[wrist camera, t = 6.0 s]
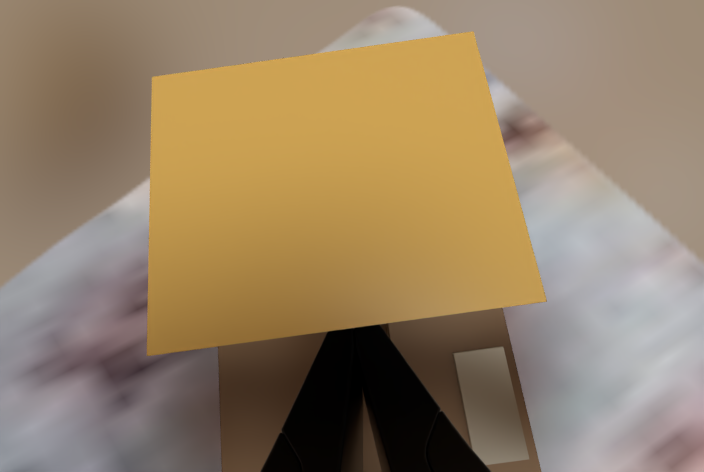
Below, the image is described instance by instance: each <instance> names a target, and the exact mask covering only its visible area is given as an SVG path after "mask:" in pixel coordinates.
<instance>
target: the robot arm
mask: <svg viewBox="0 0 704 472" xmlns="http://www.w3.org/2000/svg"><path fill="white" fill-rule="evenodd" d="M362 388H363V389H362ZM363 394H364V399H365V404H366V408H367V412H368V416H369V421H370V425H371V429H372V433H373V437H374V441H375V446H376V450H377V454H378V458H379V462H380V467H381V471H382V472H491V471H490V469H489V468H488V467H487V466H486V465H485V464H484V462H483V461H482V460H481V459H480V458H479V457H478V455H477V454H476V453H475V452H474V451H473V450H472V448H471V447H470V446H469V445H468V443H467V442H466V441H465V439H464V438H463V437H462V436H461V434H460V433H459V432H458V430H457V429H456V428H455V427H454V425H453V424H452V422H451V421H450V420H449V418H448V417H447V416H446V414H445V413H444V412H443V411H441V408H440V406H439V405H438V404H437V402H436V401H435V399H434V398H433V397H432V395H431V394H430V393H429V391H428V390H427V388H426V387H425V386H424V384H423V383H422V382H421V380H420V379H419V378H418V376H417V375H416V373H415V372H414V371H413V369H412V368H411V367H410V365H409V364H408V362H407V361H406V360H405V358H404V357H403V356H402V354H401V353H400V351H399V350H398V349H397V347H396V346H395V345H394V343H393V342H392V340H391V339H390V338H389V336H388V335H387V334H386V332H385V331H384V330H383V328H382V327H381V325H380V324H378V325H371V326H364V327H356V328H349V329H342V330H334V331H328V332H327V334H326V336H325V338H324V340H323V342H322V344H321V346H320V349H319V351H318V353H317V355H316V357H315V359H314V361H313V363H312V365H311V367H310V370H309V372H308V374H307V376H306V378H305V380H304V382H303V384H302V386H301V389H300V391H299V393H298V395H297V397H296V399H295V401H294V403H293V405H292V407H291V410H290V412H289V414H288V416H287V418H286V420H285V422H284V424H283V426H282V429H281V432H282V433H279V435H278V437H277V439H276V441H275V443H274V445H273V447H272V449H271V451H270V453H269V455H268V457H267V459H266V461H265V463H264V465H263V467H262V469H261V471H260V472H363Z"/></svg>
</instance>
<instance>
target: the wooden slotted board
mask: <svg viewBox="0 0 704 472" xmlns="http://www.w3.org/2000/svg"><path fill="white" fill-rule="evenodd" d="M380 325H381V327H382V328H383V330H384V331H385V332H386V334H387V335H388V336H389V338H390V339H391V340H392V342H393V343H394V345H395V346H396V347H397V349H398V350H399V351H400V353H401V354H402V356H403V357H404V358H405V360H406V361H407V362H408V364H409V365H410V367H411V368H412V369H413V371H414V372H415V373H416V375H417V376H418V378H419V379H420V380H421V382H422V383H423V384H424V386H425V387H426V388H427V390H428V391H429V393H430V394H431V395H432V397H433V398H434V399H435V401H436V402H437V404H438V405H439V406H440V408H441V411H443V412H444V413H445V414H446V416H447V417H448V418H449V420H450V421H451V422H452V424H453V425H454V427H455V428H456V429H457V430H458V432H459V433H460V434H461V436H462V437H463V438H464V439H465V441H466V442H467V443H468V445H469V446H470V447H471V448H472V450H473V451H474V452H475V453H476V454H477V455H478V457H479V458H480V459H481V460H482V461H483V462H484V464H485V465H486V466H487V467H488V468H489V469H490V471H491V472H541V468H540V464H539V460H538V456H537V451H536V447H535V443H534V439H533V435H532V431H531V426H530V422H529V418H528V414H527V410H526V405H525V401H524V397H523V393H522V389H521V384H520V380H519V376H518V372H517V368H516V363H515V359H514V355H513V351H512V347H511V343H510V338H509V334H508V330H507V326H506V322H505V317H504V313H503V309H502V308H495V309H488V310H481V311H473V312H466V313H459V314H451V315H444V316H437V317H429V318H422V319H415V320H407V321H400V322H393V323H386V324H380ZM327 332H328V331H327ZM327 332H320V333H312V334H305V335H298V336H290V337H283V338H276V339H268V340H261V341H254V342H246V343H239V344H232V345H224V346H218V362H219V394H220V426H221V458H222V472H260V471H261V469H262V467H263V465H264V463H265V461H266V459H267V457H268V455H269V453H270V451H271V449H272V447H273V445H274V443H275V441H276V439H277V437H278V435H279V433H282V432H281V429H282V426H283V424H284V422H285V420H286V418H287V416H288V414H289V412H290V410H291V407H292V405H293V403H294V401H295V399H296V397H297V395H298V393H299V391H300V389H301V386H302V384H303V382H304V380H305V378H306V376H307V374H308V372H309V370H310V367H311V365H312V363H313V361H314V359H315V357H316V355H317V353H318V351H319V349H320V346H321V344H322V342H323V340H324V338H325V336H326V334H327ZM362 389H363V388H362ZM363 472H382V471H381V467H380V462H379V458H378V454H377V450H376V446H375V441H374V437H373V433H372V429H371V425H370V421H369V416H368V412H367V408H366V404H365V399H364V394H363Z"/></svg>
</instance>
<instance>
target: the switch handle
mask: <svg viewBox="0 0 704 472" xmlns="http://www.w3.org/2000/svg"><path fill="white" fill-rule="evenodd" d="M151 115H152V116H151V162H150V163H151V165H150V215H149V268H148V321H147V356H151V355H158V354H166V353H173V352H180V351H188V350H195V349H202V348H210V347H217V346H224V345H232V344H239V343H246V342H254V341H261V340H268V339H276V338H283V337H290V336H298V335H305V334H312V333H320V332H327V331H334V330H342V329H349V328H356V327H364V326H371V325H378V324H386V323H393V322H400V321H407V320H415V319H422V318H429V317H437V316H444V315H451V314H459V313H466V312H473V311H481V310H488V309H495V308H503V307H510V306H517V305H525V304H532V303H539V302H547V300H546V296H545V292H544V289H543V285H542V281H541V278H540V274H539V270H538V267H537V263H536V259H535V256H534V252H533V248H532V245H531V241H530V237H529V234H528V230H527V226H526V223H525V219H524V215H523V212H522V208H521V204H520V201H519V197H518V193H517V190H516V186H515V182H514V179H513V175H512V171H511V168H510V164H509V160H508V157H507V153H506V149H505V146H504V142H503V138H502V135H501V131H500V127H499V124H498V120H497V116H496V113H495V109H494V105H493V102H492V98H491V94H490V91H489V87H488V83H487V80H486V76H485V72H484V69H483V65H482V61H481V58H480V54H479V51H478V47H477V43H476V39H475V36H474V32H467V33H459V34H452V35H445V36H438V37H431V38H424V39H417V40H409V41H402V42H395V43H388V44H381V45H374V46H367V47H360V48H353V49H346V50H339V51H332V52H325V53H318V54H311V55H304V56H297V57H290V58H282V59H275V60H268V61H262V62H254V63H247V64H240V65H233V66H226V67H219V68H212V69H206V70H198V71H191V72H184V73H177V74H170V75H163V76H156V77H152V110H151Z"/></svg>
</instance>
